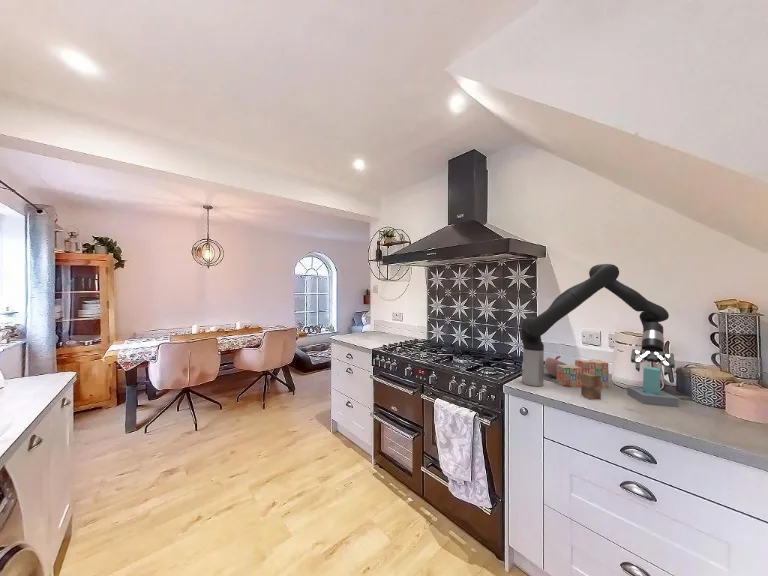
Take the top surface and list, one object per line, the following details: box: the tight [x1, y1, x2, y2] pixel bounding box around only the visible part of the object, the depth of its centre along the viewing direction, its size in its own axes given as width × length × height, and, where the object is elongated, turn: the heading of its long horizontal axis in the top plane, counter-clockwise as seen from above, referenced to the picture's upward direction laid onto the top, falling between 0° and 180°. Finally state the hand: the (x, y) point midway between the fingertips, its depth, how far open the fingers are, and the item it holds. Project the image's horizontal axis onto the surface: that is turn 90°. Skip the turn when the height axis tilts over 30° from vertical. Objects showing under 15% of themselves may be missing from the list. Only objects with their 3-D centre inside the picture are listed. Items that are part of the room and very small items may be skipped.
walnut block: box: [580, 373, 602, 400], centre depth 130 cm, size 5×5×10 cm
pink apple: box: [544, 355, 568, 378], centre depth 161 cm, size 12×12×12 cm
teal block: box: [642, 365, 662, 395], centre depth 127 cm, size 5×5×10 cm
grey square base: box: [626, 385, 679, 408], centre depth 127 cm, size 12×12×4 cm
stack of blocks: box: [556, 358, 610, 389], centre depth 147 cm, size 21×6×12 cm, turn 86°
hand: (651, 372), depth 127 cm, fingers open, 8 cm apart
